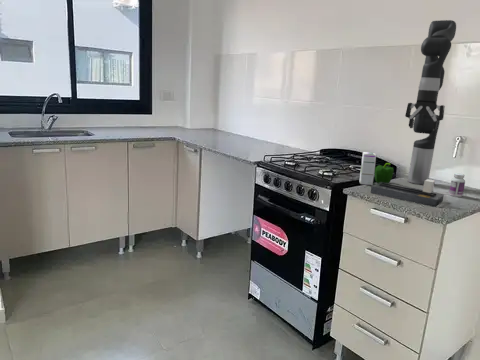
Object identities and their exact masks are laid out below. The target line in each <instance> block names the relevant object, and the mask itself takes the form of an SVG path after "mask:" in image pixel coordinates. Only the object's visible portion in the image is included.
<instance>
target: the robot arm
mask: <svg viewBox="0 0 480 360" xmlns="http://www.w3.org/2000/svg"><path fill="white" fill-rule="evenodd" d="M456 31H457V23H456V21H454V20H451V19H448V20H447V19H443V20H432V21H431V22H430V25H429V27H428V34H427V37H426V38H425V39H424V40H423V41H422V43H421V46H420V52H421V54H422V55H423V56H425V58H424V64H423V66H422V71H421V76H420V77H421V78H420V81H419V84H418V91H417V96H416V97H417V98H416V102H415V103H413V102H408V103H407V107H406V110H405V111H406V112H405V115H404V116H405V118H408V119H409V120H408V127H409V129H413V132H414V133H417V134H426V135H428V136H426V137H425V138H422V139H421V138H420V139H417V140H414V142H413V146H412V153H411V159H410V163H409V164H410V165H409V171H408V175H407V182H409V183H412V184H415V185H424V181H425V180H427V179H429V180H430V173H431V170H432V169H431V168H432V165H433V164H432V163H433V157H434V151H435V146H436V140H437V135H438V131H439V127H440V124H441V123H440V122H441V121H443V120H444V115H445V107H446V106H445V105H444V104H442V105H441V104H440V105H438V104H437V101H438V98H439V97H438V96H439V91H441V88H442V87H443V85H444V80H445V79H444V77H445V68H444V63H445V61H446V58H447V57H448V54H449V52H450V51H451V48H452V41H453V40H454V38H455V36H456V34H457V33H456ZM413 108H415V111H414V112H413V113H412V109H413ZM436 109H437V110H438V111H439V112H438V114H436V113H435V111H436ZM411 113H412V114H411Z"/></svg>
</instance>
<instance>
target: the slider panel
mask: <svg viewBox="0 0 480 360" xmlns="http://www.w3.org/2000/svg"><path fill="white" fill-rule="evenodd" d="M370 193H371V194H373V195H374V194H375V195H380V196H383V197H387V198H393V199H396V198H397V199H396V200H402V201H405V200H406V201H407V202H410V203H414V202H415V204H420V205H424V206H430V207H434V208H437V207H438V206H439V205H441V203H442V202H444V196H445V194H444V193H440V192H434V191H433V192H431V193H429V194H428V193H426V192H423V189H419V188H416V187H410V186H405V185H399V184H395V183H392V182H391V183H390V182H389V183H386V182H379V183H377V182H376V183H375V184H373V185H370Z"/></svg>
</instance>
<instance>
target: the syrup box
mask: <svg viewBox="0 0 480 360" xmlns="http://www.w3.org/2000/svg"><path fill="white" fill-rule="evenodd" d="M376 162H377V154H376V153H375V152H370V151H362V156H361V165H360V170H359V171H360V172H359V180H358V181H359V184H360V185H364V186H365V185H366V186H373V185H374V179H375V168H376Z"/></svg>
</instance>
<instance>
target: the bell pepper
mask: <svg viewBox="0 0 480 360" xmlns="http://www.w3.org/2000/svg"><path fill="white" fill-rule="evenodd" d="M394 171H395V170H394V167H393V166H392V167H391V163H390V162H386V163H385V164H384V165H381V164H380V165H379V164H378V165H377V166H376V165H375V170H374V180H375V182H376V184H377V183H379V182H386V183H390V182H391V181H392V178H393V176H394Z"/></svg>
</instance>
